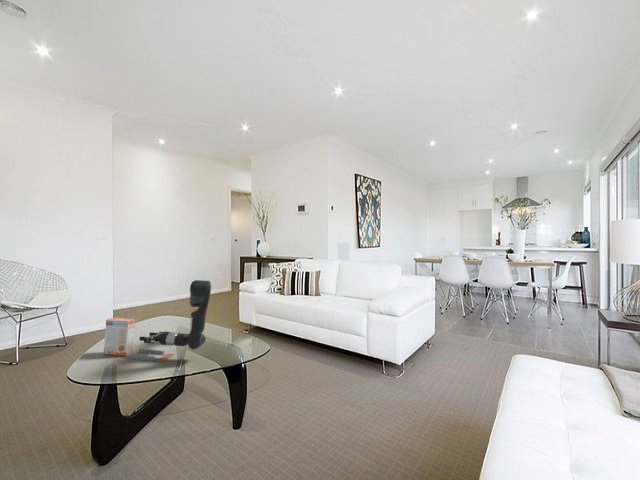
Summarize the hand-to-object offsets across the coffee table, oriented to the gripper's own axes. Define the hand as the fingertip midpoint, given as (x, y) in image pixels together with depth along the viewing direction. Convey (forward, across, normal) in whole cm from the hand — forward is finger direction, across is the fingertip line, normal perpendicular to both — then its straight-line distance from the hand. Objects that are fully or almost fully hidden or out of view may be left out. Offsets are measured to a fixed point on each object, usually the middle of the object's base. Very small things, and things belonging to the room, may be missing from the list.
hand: (144, 336), depth 179 cm
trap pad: (-14, 0, +12) cm, 18 cm away
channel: (-2, 0, +12) cm, 12 cm away
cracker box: (+15, +1, +12) cm, 19 cm away
